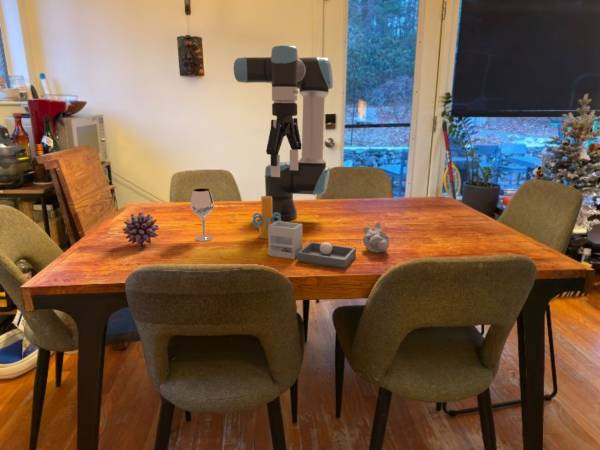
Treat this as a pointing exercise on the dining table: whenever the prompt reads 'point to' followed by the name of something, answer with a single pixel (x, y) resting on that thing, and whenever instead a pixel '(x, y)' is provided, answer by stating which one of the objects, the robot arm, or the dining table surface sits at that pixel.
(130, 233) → the purple spiky ball
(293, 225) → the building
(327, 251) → the ball
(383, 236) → the figurine
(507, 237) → the dining table surface
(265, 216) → the orange and blue piece
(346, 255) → the tray
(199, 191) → the wineglass
